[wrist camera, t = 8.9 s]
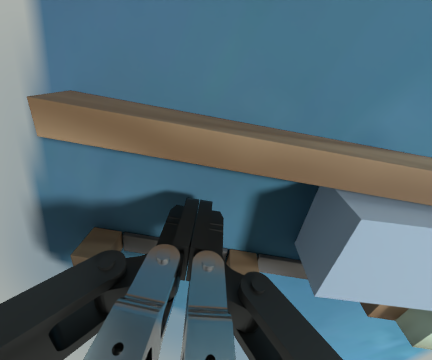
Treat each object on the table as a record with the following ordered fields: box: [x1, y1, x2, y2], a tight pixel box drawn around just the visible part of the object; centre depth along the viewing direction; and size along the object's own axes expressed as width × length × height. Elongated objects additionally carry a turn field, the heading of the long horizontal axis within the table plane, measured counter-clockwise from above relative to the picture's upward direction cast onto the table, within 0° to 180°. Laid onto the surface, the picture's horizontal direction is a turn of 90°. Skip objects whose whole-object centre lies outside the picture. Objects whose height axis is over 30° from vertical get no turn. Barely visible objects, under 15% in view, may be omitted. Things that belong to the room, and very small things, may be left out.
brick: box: [295, 186, 432, 311], centre depth 11 cm, size 6×7×4 cm
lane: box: [27, 91, 432, 350], centre depth 11 cm, size 11×24×4 cm, turn 80°
